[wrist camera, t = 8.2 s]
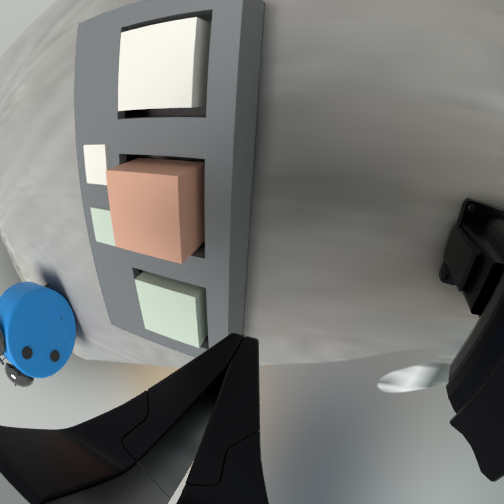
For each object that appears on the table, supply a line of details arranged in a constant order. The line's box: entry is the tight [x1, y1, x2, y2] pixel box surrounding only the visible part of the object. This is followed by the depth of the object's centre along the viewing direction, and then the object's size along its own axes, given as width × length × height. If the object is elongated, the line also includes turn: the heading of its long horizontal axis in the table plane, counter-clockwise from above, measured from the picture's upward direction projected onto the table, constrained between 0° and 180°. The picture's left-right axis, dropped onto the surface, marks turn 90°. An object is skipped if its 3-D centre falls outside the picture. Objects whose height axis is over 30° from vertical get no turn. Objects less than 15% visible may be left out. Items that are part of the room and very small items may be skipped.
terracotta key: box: [106, 158, 205, 264], centre depth 18 cm, size 5×5×4 cm
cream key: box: [118, 17, 211, 111], centre depth 15 cm, size 5×5×4 cm
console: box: [74, 0, 265, 357], centre depth 20 cm, size 13×28×4 cm, turn 176°
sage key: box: [135, 271, 208, 348], centre depth 24 cm, size 5×5×4 cm
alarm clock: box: [0, 282, 76, 387], centre depth 31 cm, size 13×6×15 cm, turn 3°
